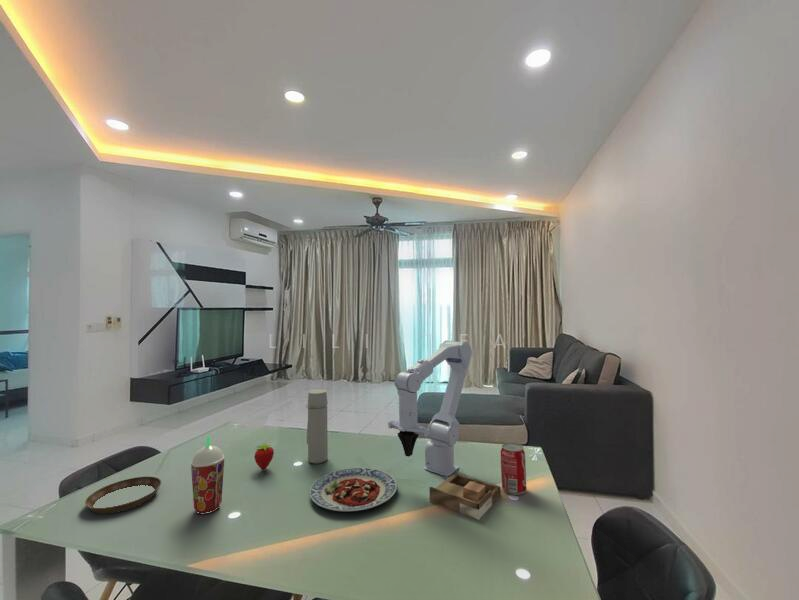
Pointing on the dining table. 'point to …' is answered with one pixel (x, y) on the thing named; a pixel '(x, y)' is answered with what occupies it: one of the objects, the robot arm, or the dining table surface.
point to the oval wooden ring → (120, 485)
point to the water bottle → (317, 426)
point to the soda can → (513, 469)
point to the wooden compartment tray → (453, 499)
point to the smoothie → (207, 478)
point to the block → (474, 491)
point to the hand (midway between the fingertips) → (408, 455)
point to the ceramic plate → (353, 489)
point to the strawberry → (264, 456)
